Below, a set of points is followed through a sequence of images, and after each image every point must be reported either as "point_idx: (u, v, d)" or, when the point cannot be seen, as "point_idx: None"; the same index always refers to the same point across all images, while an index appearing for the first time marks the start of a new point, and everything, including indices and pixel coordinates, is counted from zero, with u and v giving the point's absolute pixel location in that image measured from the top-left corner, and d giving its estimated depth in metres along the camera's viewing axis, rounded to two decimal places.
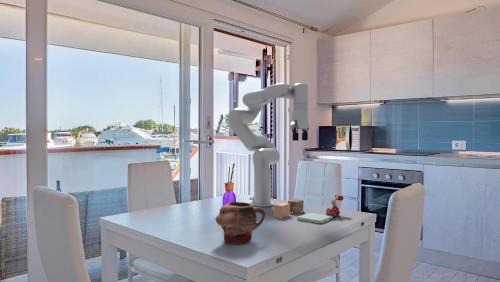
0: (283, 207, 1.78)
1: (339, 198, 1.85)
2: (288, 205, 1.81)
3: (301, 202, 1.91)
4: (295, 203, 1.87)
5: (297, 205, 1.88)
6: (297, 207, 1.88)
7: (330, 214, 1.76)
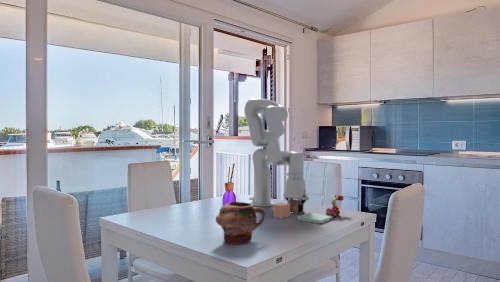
0: (283, 207, 1.78)
1: (339, 198, 1.85)
2: (288, 205, 1.81)
3: None
4: (295, 203, 1.87)
5: (297, 204, 1.88)
6: (297, 207, 1.88)
7: (330, 214, 1.76)
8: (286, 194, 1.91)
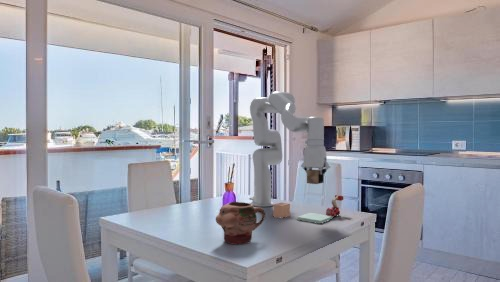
0: (283, 207, 1.78)
1: (339, 198, 1.85)
2: (288, 205, 1.81)
3: None
4: (315, 172, 1.70)
5: (317, 174, 1.70)
6: (317, 177, 1.71)
7: (330, 214, 1.76)
8: (305, 163, 1.74)
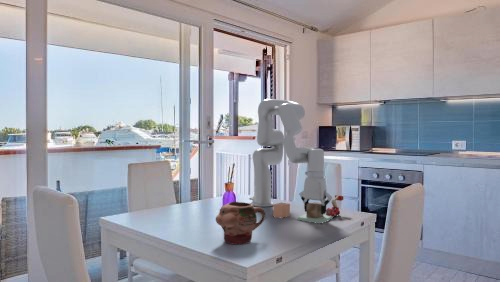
0: (283, 207, 1.78)
1: (339, 198, 1.85)
2: (288, 205, 1.81)
3: (321, 205, 1.74)
4: (315, 207, 1.70)
5: (317, 208, 1.71)
6: (317, 211, 1.71)
7: (330, 214, 1.76)
8: (305, 195, 1.74)
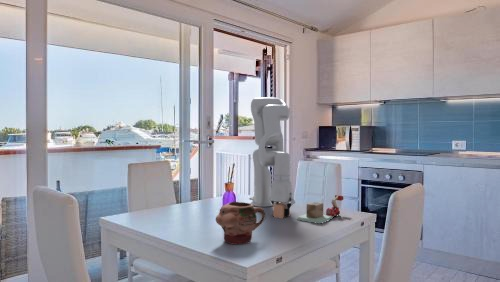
0: (283, 207, 1.78)
1: (339, 198, 1.85)
2: None
3: (321, 205, 1.74)
4: (315, 207, 1.70)
5: (317, 208, 1.71)
6: (317, 211, 1.71)
7: (330, 214, 1.76)
8: (271, 197, 1.81)
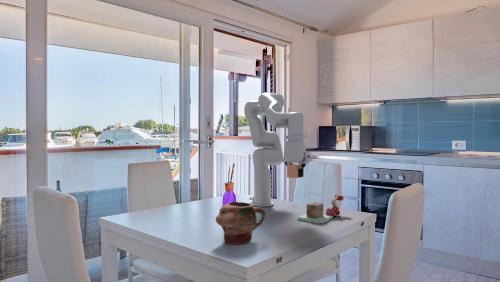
0: (297, 167, 1.74)
1: (339, 198, 1.85)
2: None
3: (321, 205, 1.74)
4: (315, 207, 1.70)
5: (317, 208, 1.71)
6: (317, 211, 1.71)
7: (330, 214, 1.76)
8: (285, 158, 1.78)
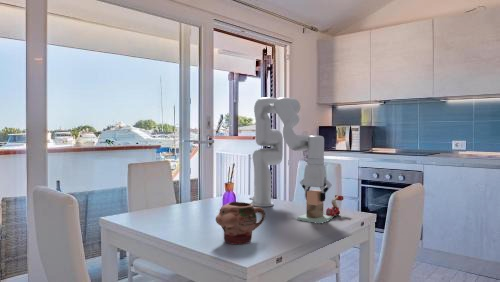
0: (317, 194, 1.71)
1: (339, 198, 1.85)
2: None
3: (321, 205, 1.74)
4: (315, 207, 1.70)
5: (317, 208, 1.71)
6: (317, 211, 1.71)
7: (330, 214, 1.76)
8: (305, 182, 1.74)
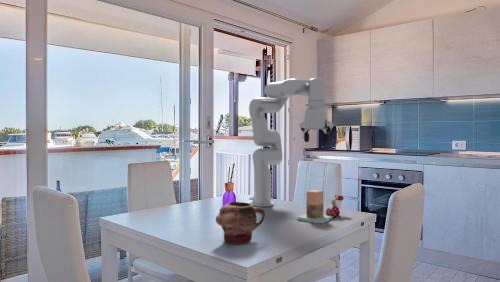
0: (317, 194, 1.71)
1: (339, 198, 1.85)
2: (322, 192, 1.74)
3: (321, 205, 1.74)
4: (315, 207, 1.70)
5: (317, 208, 1.71)
6: (317, 211, 1.71)
7: (330, 214, 1.76)
8: (305, 125, 1.74)
